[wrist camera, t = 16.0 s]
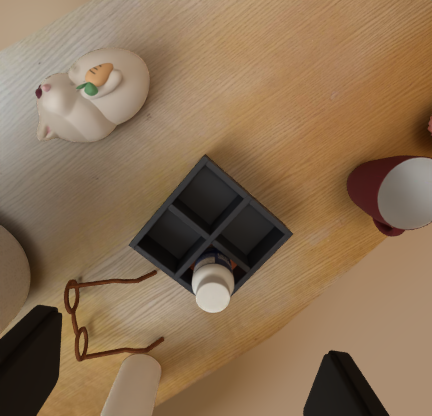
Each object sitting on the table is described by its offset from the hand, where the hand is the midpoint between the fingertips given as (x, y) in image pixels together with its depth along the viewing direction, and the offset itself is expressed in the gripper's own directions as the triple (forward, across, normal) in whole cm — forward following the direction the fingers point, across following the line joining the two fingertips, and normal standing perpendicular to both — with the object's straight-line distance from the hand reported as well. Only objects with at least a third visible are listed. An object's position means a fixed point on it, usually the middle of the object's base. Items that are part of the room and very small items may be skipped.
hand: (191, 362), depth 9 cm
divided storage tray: (+28, -2, +5) cm, 29 cm away
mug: (+29, -22, -5) cm, 37 cm away
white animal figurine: (+29, +16, -10) cm, 34 cm away
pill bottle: (+28, -3, +10) cm, 30 cm away
